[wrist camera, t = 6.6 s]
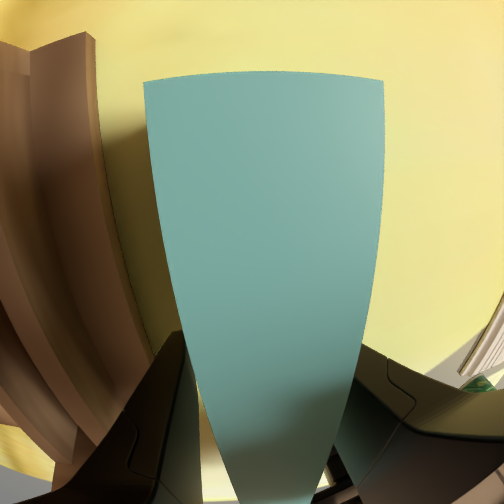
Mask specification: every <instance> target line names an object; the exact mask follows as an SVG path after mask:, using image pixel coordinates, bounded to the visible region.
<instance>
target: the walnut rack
mask: <svg viewBox="0 0 504 504" xmlns="http://www.w3.org/2000/svg"><path fill="white" fill-rule="evenodd" d="M154 359H155V358H154V355H153V352H152V350H151V347H150V344H149V341H148V338H147V335H146V332H145V329H144V326H143V323H142V320H141V317H140V314H139V311H138V308H137V304H136V301H135V298H134V294H133V291H132V288H131V284H130V281H129V277H128V273H127V270H126V266H125V262H124V258H123V254H122V250H121V246H120V242H119V237H118V233H117V229H116V224H115V219H114V214H113V210H112V204H111V199H110V194H109V188H108V183H107V177H106V170H105V164H104V157H103V150H102V142H101V133H100V124H99V114H98V102H97V87H96V62H95V39H94V38H93V37H92V36H91V35H89V34H88V33H87V32H86V31H85V32H82V33H79V34H76V35H73V36H70V37H67V38H64V39H61V40H58V41H56V42H53V43H50V44H48V45H45V46H43V47H40V48H38V49H35V50H33V51H31V52H30V51H27V50H24V49H22V48H19V47H16V46H13V45H10V44H7V43H4V42H1V41H0V424H5V425H10V426H16V427H20V428H21V429H22V430H23V431H24V432H25V433H26V434H27V435H28V436H29V437H30V438H31V439H32V440H33V441H34V442H35V443H36V444H37V445H38V446H39V447H40V448H41V449H42V450H43V451H44V452H45V453H46V454H47V455H48V456H49V457H50V458H51V459H52V460H54V461H55V462H56V463H55V469H54V475H53V482H52V490H51V492H52V491H55V490H57V489H59V488H61V487H62V486H63V485H65V484H66V483H67V482H68V481H69V480H70V479H71V478H72V477H73V476H74V475H75V474H76V472H77V471H78V470H79V469H80V467H81V466H82V465H83V464H84V462H85V461H86V460H87V459H88V457H89V456H90V455H91V454H92V452H93V451H94V450H95V449H96V447H97V446H98V445H99V443H100V442H101V441H102V439H103V438H104V437H105V436H106V434H107V433H108V431H109V430H110V428H111V427H112V425H113V424H114V422H115V421H116V419H117V418H118V416H119V414H120V413H121V411H122V410H123V408H124V406H125V405H126V403H127V402H128V400H129V398H130V397H131V395H132V394H133V392H134V390H135V389H136V387H137V386H138V384H139V383H140V381H141V379H142V378H143V376H144V375H145V373H146V371H147V370H148V368H149V367H150V365H151V364H152V362H153V360H154ZM123 411H124V410H123Z"/></svg>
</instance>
